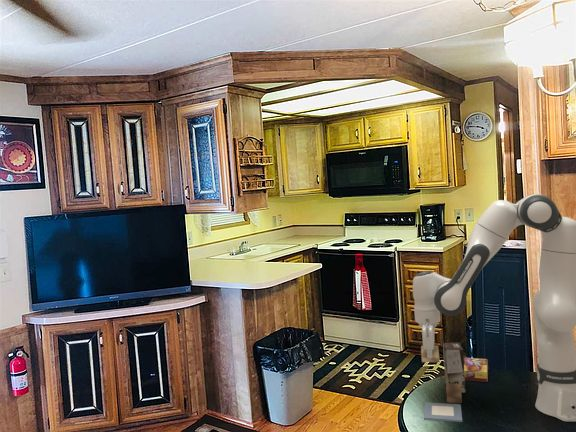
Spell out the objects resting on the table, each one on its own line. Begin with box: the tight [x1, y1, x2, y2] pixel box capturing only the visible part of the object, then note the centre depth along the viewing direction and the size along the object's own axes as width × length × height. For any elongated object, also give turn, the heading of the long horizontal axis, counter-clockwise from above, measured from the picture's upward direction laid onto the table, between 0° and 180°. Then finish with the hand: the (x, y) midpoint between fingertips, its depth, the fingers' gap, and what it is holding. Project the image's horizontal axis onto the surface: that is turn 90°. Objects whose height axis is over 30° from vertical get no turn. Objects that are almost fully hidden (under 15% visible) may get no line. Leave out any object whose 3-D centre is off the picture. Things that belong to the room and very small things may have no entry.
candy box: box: [464, 357, 489, 383], centre depth 195 cm, size 9×4×15 cm
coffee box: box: [442, 342, 466, 394], centre depth 184 cm, size 9×6×16 cm
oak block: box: [420, 345, 440, 363], centre depth 175 cm, size 6×6×4 cm
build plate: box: [423, 401, 463, 423], centre depth 165 cm, size 12×12×1 cm
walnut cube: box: [445, 383, 463, 404], centre depth 174 cm, size 5×5×5 cm
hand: (430, 354), depth 175 cm, fingers closed on oak block, 6 cm apart
